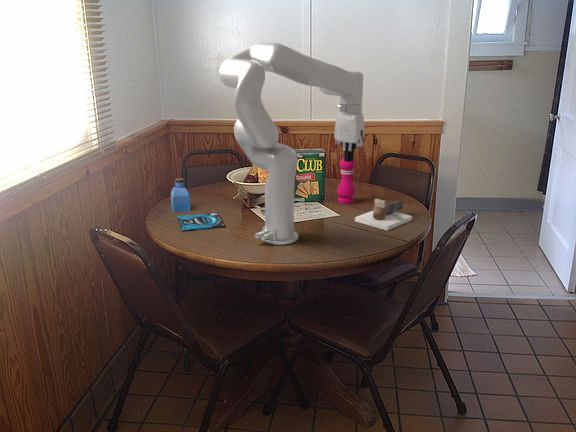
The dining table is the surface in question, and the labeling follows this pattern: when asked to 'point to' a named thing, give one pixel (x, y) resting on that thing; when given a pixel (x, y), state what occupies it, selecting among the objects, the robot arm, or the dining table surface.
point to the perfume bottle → (180, 197)
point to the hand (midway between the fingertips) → (348, 161)
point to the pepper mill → (346, 183)
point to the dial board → (384, 220)
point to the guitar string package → (200, 222)
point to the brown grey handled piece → (385, 208)
